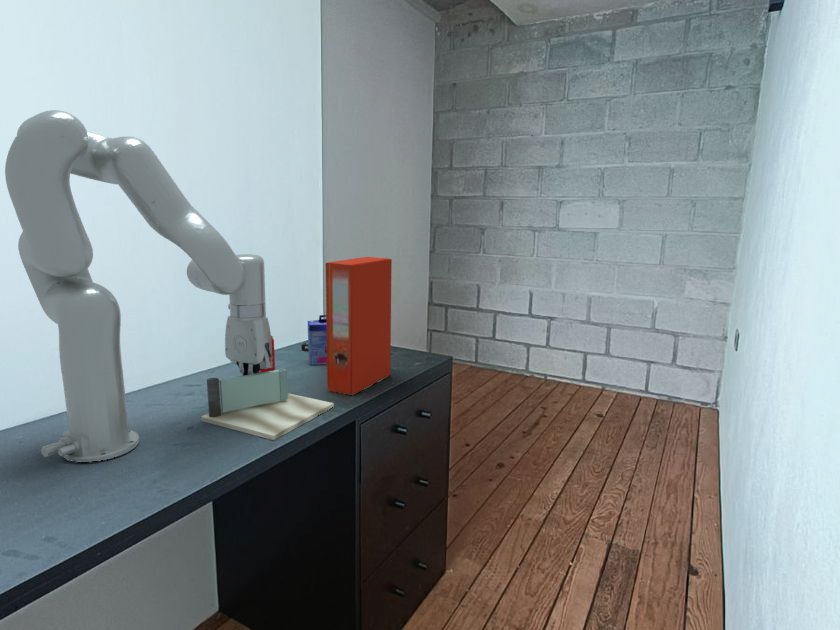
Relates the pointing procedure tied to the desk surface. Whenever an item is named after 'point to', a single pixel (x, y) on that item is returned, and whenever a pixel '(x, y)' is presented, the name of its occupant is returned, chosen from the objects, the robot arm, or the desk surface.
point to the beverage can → (272, 360)
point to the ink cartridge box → (317, 341)
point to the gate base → (264, 414)
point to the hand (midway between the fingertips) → (251, 389)
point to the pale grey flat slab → (253, 390)
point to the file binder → (358, 323)
